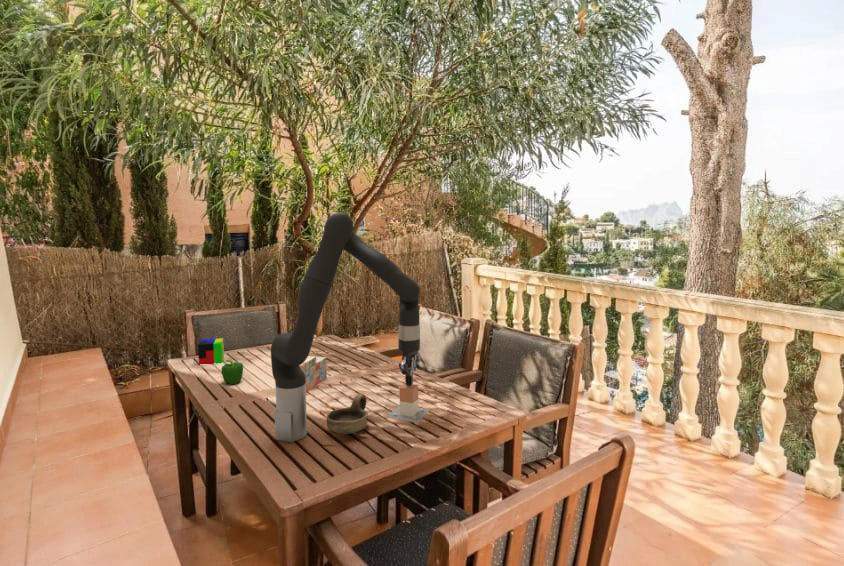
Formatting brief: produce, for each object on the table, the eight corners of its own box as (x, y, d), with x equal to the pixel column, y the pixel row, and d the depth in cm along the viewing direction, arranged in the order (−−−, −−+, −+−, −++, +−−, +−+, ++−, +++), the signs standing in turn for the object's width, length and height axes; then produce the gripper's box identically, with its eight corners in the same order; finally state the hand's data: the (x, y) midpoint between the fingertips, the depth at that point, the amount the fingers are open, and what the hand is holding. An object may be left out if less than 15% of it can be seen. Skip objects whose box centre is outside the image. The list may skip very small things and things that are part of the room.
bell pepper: (248, 380, 200) (247, 358, 198) (233, 387, 192) (232, 363, 191) (233, 378, 203) (232, 355, 202) (218, 384, 196) (217, 361, 195)
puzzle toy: (202, 359, 230) (201, 339, 228) (224, 357, 233) (223, 338, 231) (199, 365, 220) (197, 344, 219) (222, 363, 223) (220, 343, 222)
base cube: (412, 417, 163) (412, 403, 162) (399, 414, 164) (399, 401, 164) (418, 411, 167) (418, 398, 166) (405, 409, 169) (405, 396, 168)
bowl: (316, 435, 151) (316, 406, 149) (348, 415, 166) (348, 388, 165) (351, 445, 144) (351, 414, 143) (381, 423, 160) (381, 395, 158)
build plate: (418, 425, 158) (418, 421, 158) (386, 419, 162) (386, 415, 162) (430, 412, 169) (430, 407, 169) (400, 407, 174) (400, 402, 173)
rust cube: (412, 403, 162) (412, 389, 161) (399, 401, 164) (399, 387, 163) (418, 398, 166) (418, 384, 166) (405, 396, 168) (405, 382, 168)
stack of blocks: (314, 376, 207) (313, 349, 205) (326, 377, 205) (326, 350, 204) (288, 393, 186) (287, 363, 185) (302, 395, 185) (301, 365, 183)
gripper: (406, 331, 169) (406, 377, 172) (391, 340, 157) (391, 389, 160) (426, 333, 167) (425, 380, 169) (411, 342, 154) (411, 392, 157)
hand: (409, 384), depth 164 cm, fingers closed
